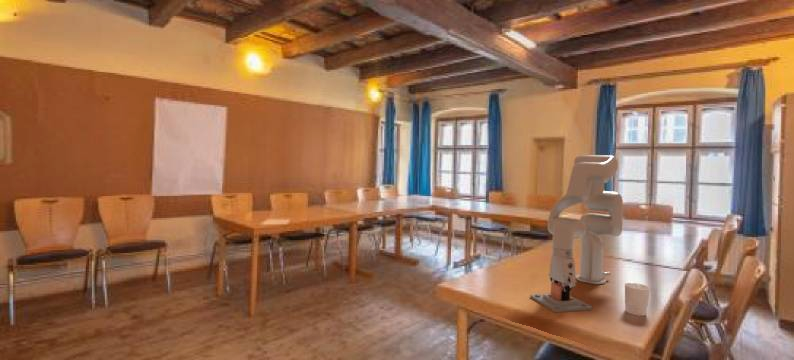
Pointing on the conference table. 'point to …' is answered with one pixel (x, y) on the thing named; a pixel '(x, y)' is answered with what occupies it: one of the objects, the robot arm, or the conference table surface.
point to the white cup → (636, 298)
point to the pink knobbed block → (557, 291)
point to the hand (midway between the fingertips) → (560, 297)
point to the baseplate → (560, 303)
